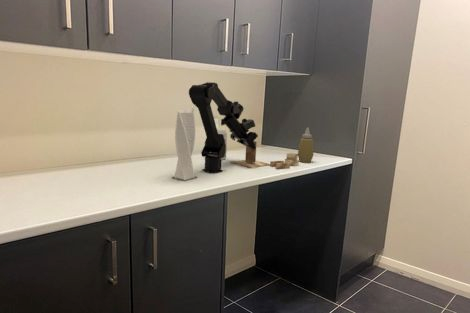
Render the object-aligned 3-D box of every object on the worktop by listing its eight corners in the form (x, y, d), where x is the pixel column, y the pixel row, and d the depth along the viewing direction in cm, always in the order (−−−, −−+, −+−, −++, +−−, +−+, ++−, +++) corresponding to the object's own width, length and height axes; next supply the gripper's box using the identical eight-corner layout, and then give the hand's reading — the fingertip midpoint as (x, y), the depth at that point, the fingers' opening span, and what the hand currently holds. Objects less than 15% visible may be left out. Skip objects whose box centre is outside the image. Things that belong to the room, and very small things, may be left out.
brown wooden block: (248, 162, 161) (249, 141, 159) (245, 161, 164) (246, 141, 162) (255, 162, 163) (256, 141, 161) (252, 160, 165) (253, 140, 164)
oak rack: (277, 169, 154) (277, 163, 154) (270, 166, 160) (270, 161, 159) (289, 168, 157) (290, 163, 157) (282, 165, 163) (282, 160, 162)
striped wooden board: (249, 167, 154) (249, 167, 154) (230, 162, 164) (230, 161, 164) (270, 164, 163) (270, 164, 163) (250, 160, 173) (250, 159, 173)
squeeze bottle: (305, 163, 170) (308, 128, 167) (293, 161, 176) (296, 126, 173) (316, 162, 175) (319, 128, 171) (304, 159, 181) (307, 126, 178)
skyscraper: (200, 178, 130) (202, 106, 125) (185, 182, 123) (187, 105, 118) (183, 174, 135) (185, 104, 130) (169, 178, 128) (170, 104, 123)
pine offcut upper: (293, 160, 162) (294, 154, 161) (286, 159, 164) (286, 153, 164) (297, 159, 165) (297, 153, 164) (290, 158, 167) (290, 152, 167)
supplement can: (207, 159, 170) (208, 129, 168) (213, 156, 178) (214, 128, 175) (222, 160, 168) (224, 131, 165) (228, 158, 176) (229, 129, 173)
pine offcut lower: (289, 166, 162) (290, 160, 161) (284, 164, 166) (284, 158, 166) (298, 166, 164) (298, 160, 163) (292, 164, 168) (293, 158, 168)
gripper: (255, 114, 149) (274, 139, 156) (237, 112, 166) (255, 134, 172) (238, 132, 147) (258, 156, 154) (221, 128, 164) (240, 149, 170)
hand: (253, 148), depth 163 cm, fingers closed on brown wooden block, 3 cm apart
